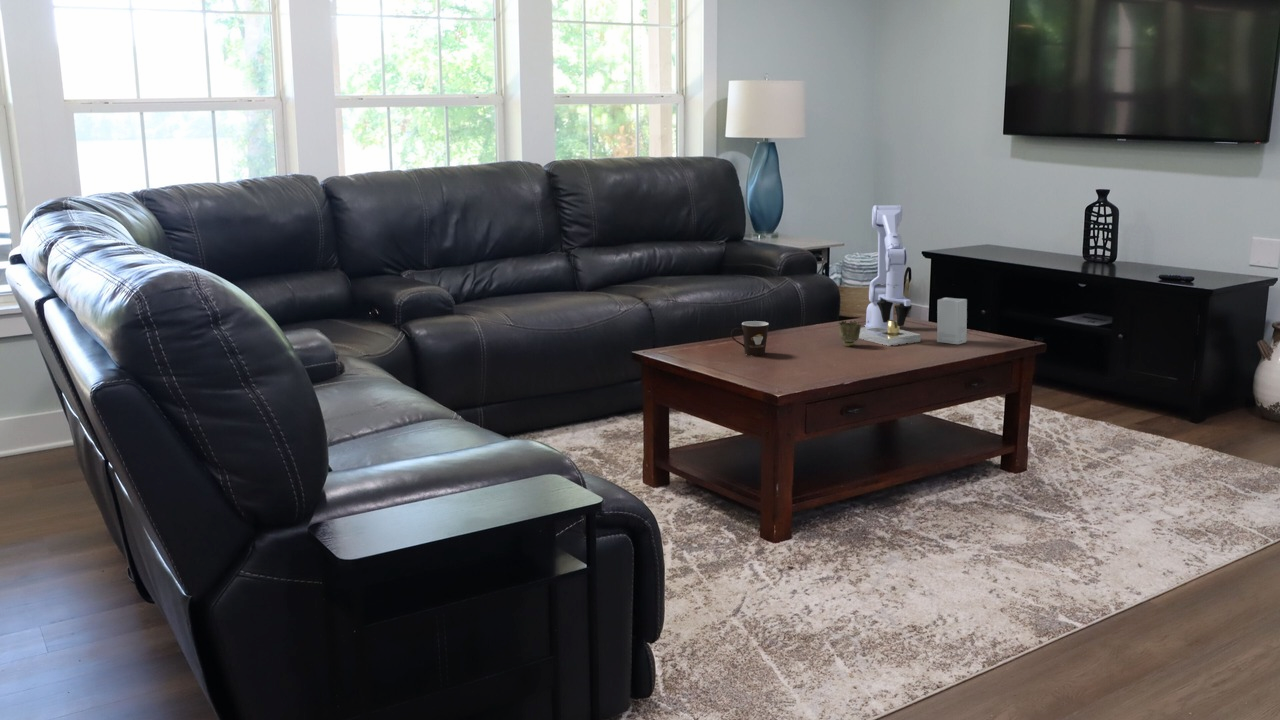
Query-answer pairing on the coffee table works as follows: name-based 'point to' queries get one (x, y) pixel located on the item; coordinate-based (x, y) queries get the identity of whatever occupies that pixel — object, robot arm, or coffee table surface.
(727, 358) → the coffee table surface
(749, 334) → the coffee mug
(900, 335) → the jig plate
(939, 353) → the coffee table surface
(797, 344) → the coffee table surface
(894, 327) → the brass sleeve
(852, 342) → the cup
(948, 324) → the skincare box
